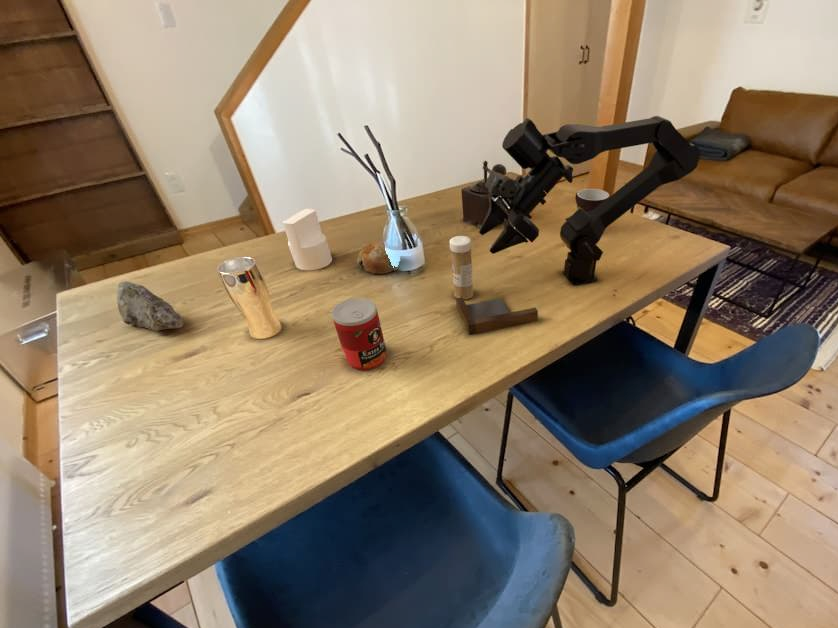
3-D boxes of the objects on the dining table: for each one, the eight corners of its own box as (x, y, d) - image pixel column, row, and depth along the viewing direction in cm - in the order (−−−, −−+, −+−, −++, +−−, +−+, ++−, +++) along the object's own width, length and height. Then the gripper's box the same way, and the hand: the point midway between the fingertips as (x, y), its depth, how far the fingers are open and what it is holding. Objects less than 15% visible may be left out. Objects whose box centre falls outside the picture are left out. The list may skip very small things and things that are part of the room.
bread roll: (387, 289, 109) (395, 264, 103) (349, 270, 107) (355, 243, 102) (402, 270, 116) (410, 245, 111) (366, 251, 114) (372, 226, 109)
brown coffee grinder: (460, 221, 130) (455, 156, 118) (484, 210, 137) (482, 147, 125) (500, 235, 123) (499, 168, 111) (524, 222, 129) (525, 157, 117)
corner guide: (520, 295, 100) (520, 286, 98) (537, 320, 92) (538, 311, 90) (456, 308, 96) (455, 298, 94) (469, 335, 89) (468, 325, 87)
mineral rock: (188, 334, 90) (162, 291, 83) (126, 352, 86) (94, 309, 79) (183, 305, 98) (159, 264, 91) (127, 320, 94) (97, 278, 87)
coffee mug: (605, 236, 122) (611, 200, 115) (575, 236, 122) (579, 200, 116) (599, 219, 131) (604, 184, 124) (570, 219, 131) (574, 185, 124)
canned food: (368, 376, 80) (353, 327, 72) (337, 361, 83) (320, 313, 75) (396, 353, 84) (385, 305, 77) (366, 340, 88) (353, 293, 80)
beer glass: (249, 344, 87) (215, 277, 77) (246, 326, 92) (214, 261, 82) (286, 334, 89) (258, 268, 79) (281, 317, 94) (254, 252, 84)
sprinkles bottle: (451, 293, 101) (445, 237, 92) (469, 288, 102) (465, 233, 93) (459, 302, 98) (454, 246, 89) (477, 297, 99) (474, 241, 90)
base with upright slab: (318, 272, 108) (302, 225, 100) (288, 267, 110) (270, 221, 102) (339, 256, 115) (326, 211, 106) (310, 251, 117) (295, 207, 109)
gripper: (497, 143, 89) (448, 202, 95) (525, 171, 76) (467, 239, 81) (532, 179, 96) (485, 233, 101) (563, 211, 83) (507, 271, 88)
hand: (485, 242), depth 93 cm, fingers open, 9 cm apart
